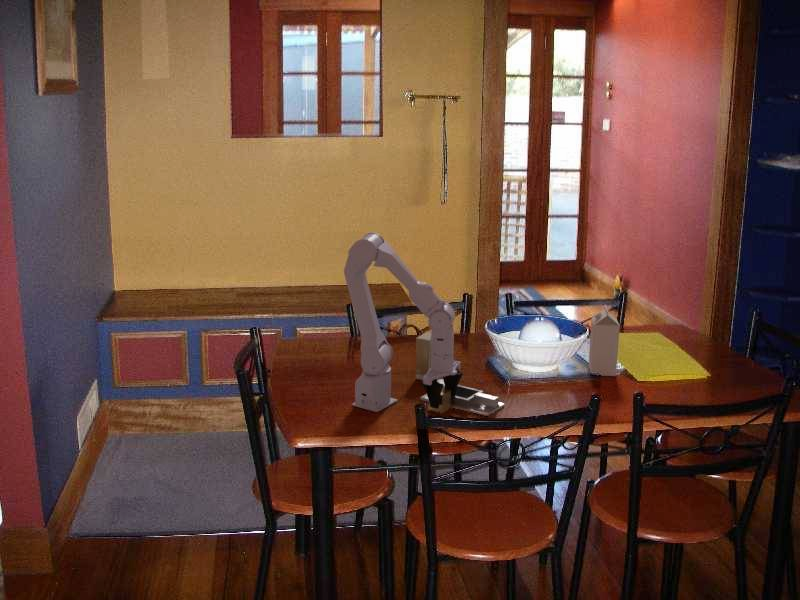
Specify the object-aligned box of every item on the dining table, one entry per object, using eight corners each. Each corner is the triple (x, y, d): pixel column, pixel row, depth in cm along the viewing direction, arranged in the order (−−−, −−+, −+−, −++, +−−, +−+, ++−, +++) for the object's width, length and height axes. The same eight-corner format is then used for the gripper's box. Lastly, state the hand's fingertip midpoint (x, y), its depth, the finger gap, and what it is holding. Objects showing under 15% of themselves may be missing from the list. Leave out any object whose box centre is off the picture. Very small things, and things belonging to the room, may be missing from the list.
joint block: (442, 413, 237) (442, 395, 236) (428, 410, 239) (429, 391, 238) (450, 408, 240) (450, 390, 239) (437, 405, 243) (437, 387, 241)
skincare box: (426, 372, 266) (426, 331, 263) (439, 375, 264) (440, 333, 261) (414, 379, 261) (415, 337, 258) (428, 382, 259) (429, 339, 256)
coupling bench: (487, 417, 235) (487, 403, 234) (420, 399, 246) (420, 386, 245) (504, 406, 242) (505, 393, 241) (438, 389, 253) (438, 377, 252)
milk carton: (613, 368, 271) (617, 305, 266) (616, 376, 264) (621, 312, 259) (588, 367, 272) (592, 304, 267) (590, 375, 265) (594, 311, 260)
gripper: (440, 363, 228) (440, 415, 231) (470, 347, 239) (470, 397, 243) (416, 358, 232) (416, 409, 235) (447, 342, 243) (447, 392, 247)
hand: (442, 403), depth 239 cm, fingers open, 7 cm apart
